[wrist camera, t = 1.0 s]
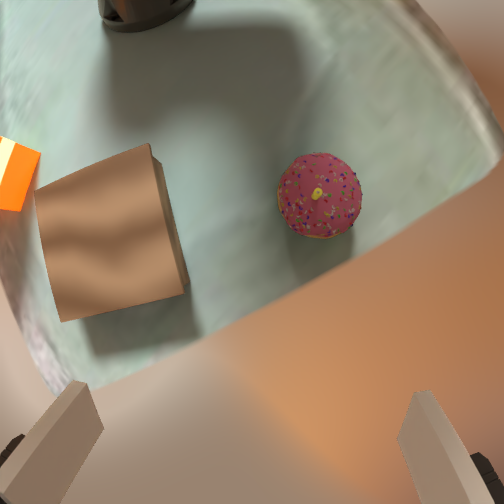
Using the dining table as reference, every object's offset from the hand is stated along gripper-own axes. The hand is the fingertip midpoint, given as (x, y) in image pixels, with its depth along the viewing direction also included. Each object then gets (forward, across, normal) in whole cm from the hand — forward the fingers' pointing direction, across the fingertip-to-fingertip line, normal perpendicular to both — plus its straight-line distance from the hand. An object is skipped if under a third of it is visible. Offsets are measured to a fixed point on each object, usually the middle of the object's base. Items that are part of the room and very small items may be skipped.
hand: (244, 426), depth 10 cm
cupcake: (+26, +6, +6) cm, 28 cm away
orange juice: (+25, -36, +12) cm, 45 cm away
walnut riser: (+24, -17, +3) cm, 29 cm away
